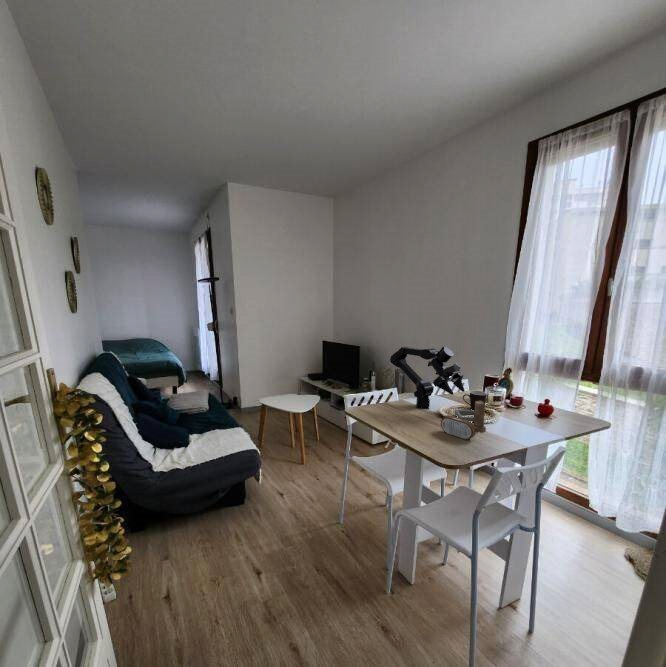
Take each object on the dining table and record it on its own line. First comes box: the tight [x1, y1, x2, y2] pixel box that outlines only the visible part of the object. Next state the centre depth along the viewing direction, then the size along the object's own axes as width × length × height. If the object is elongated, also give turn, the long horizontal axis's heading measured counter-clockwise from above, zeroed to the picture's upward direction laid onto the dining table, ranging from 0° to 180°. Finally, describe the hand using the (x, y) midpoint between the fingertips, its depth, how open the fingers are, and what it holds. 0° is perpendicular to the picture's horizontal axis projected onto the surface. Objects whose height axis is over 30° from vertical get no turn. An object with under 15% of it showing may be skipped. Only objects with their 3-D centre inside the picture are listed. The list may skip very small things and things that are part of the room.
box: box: [454, 409, 474, 421], centre depth 162 cm, size 11×11×3 cm
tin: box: [440, 414, 476, 441], centre depth 142 cm, size 15×3×8 cm, turn 44°
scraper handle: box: [472, 401, 487, 433], centre depth 150 cm, size 5×5×13 cm
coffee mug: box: [462, 390, 488, 411], centre depth 176 cm, size 12×9×10 cm
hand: (458, 392), depth 160 cm, fingers open, 9 cm apart
